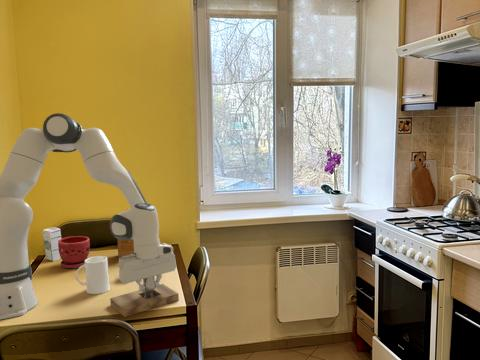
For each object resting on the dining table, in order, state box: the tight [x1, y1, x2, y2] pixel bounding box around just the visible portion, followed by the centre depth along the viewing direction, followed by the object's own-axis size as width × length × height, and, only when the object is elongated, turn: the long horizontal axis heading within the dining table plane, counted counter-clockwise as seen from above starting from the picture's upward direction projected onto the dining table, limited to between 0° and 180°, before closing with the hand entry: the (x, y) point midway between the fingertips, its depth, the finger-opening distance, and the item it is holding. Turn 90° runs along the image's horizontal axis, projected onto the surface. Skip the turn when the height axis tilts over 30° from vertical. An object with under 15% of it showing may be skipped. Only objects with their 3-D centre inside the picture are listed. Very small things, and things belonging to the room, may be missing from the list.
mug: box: [75, 255, 111, 295], centre depth 162 cm, size 12×8×12 cm
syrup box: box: [42, 226, 62, 262], centre depth 202 cm, size 6×6×14 cm
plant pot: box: [58, 235, 91, 269], centre depth 192 cm, size 13×13×12 cm
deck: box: [109, 283, 180, 318], centre depth 151 cm, size 20×12×2 cm, turn 127°
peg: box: [142, 276, 156, 299], centre depth 152 cm, size 4×4×8 cm
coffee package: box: [117, 208, 134, 260], centre depth 202 cm, size 10×12×22 cm
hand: (149, 288), depth 152 cm, fingers closed on peg, 4 cm apart
